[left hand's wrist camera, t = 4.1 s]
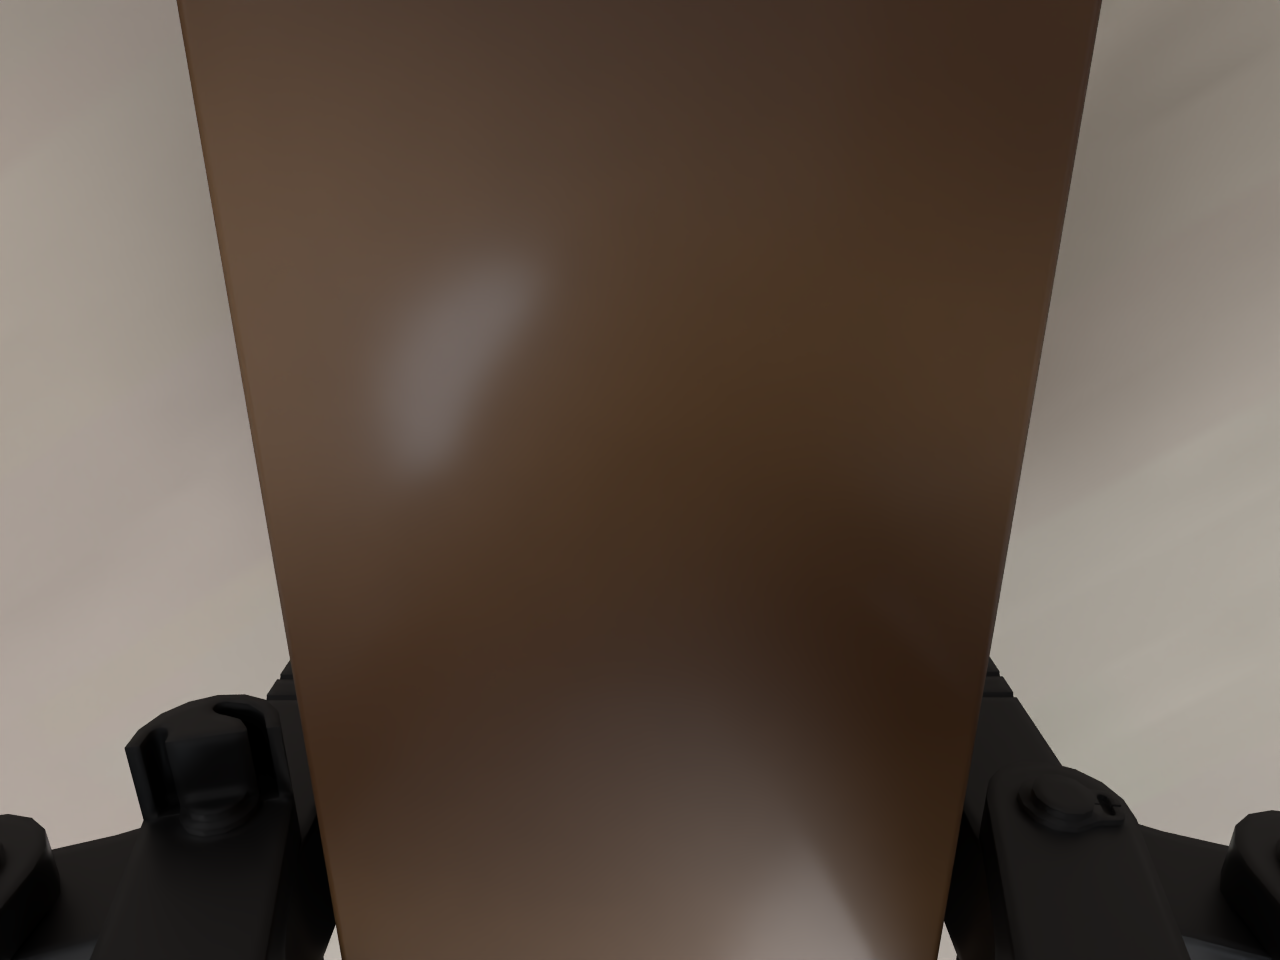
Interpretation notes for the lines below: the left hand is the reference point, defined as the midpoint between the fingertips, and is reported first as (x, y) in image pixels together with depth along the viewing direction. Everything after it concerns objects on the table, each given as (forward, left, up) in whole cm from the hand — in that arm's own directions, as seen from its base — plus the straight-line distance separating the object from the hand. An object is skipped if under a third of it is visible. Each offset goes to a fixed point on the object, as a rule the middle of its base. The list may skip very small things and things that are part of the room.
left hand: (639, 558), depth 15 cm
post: (-12, -21, -1) cm, 25 cm away
